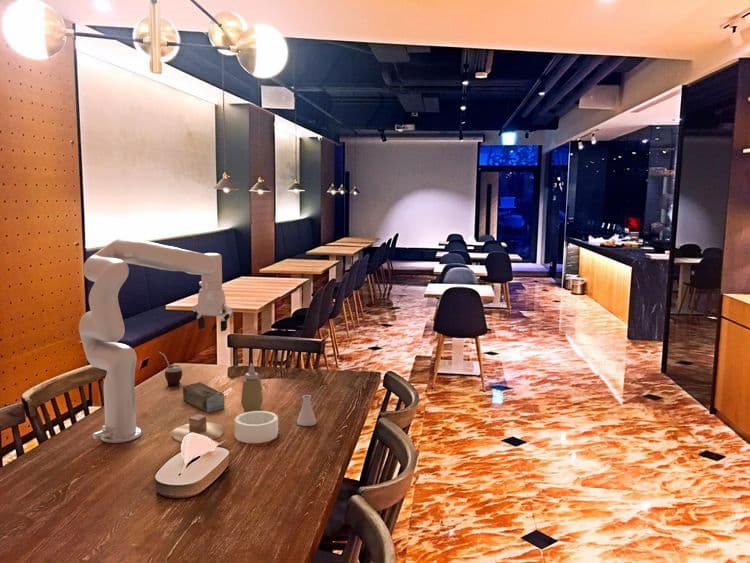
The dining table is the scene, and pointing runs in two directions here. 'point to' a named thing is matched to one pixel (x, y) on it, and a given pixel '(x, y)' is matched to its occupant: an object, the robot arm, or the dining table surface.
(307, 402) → the flask
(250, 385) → the squeeze bottle
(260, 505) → the dining table surface
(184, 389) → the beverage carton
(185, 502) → the dining table surface
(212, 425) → the lid
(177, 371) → the mate gourd
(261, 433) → the bowl
